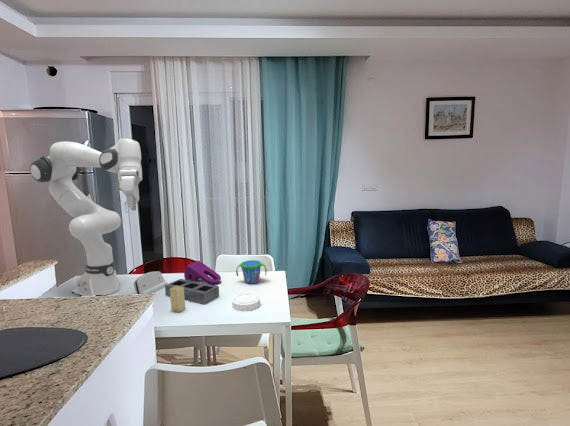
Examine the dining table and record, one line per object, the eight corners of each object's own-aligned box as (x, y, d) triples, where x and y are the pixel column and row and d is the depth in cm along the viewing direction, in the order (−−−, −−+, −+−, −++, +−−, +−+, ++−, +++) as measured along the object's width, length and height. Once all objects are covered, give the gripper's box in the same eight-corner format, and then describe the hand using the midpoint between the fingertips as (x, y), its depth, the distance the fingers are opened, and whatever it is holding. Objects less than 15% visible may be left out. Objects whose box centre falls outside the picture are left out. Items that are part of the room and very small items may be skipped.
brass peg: (171, 311, 146) (169, 288, 145) (178, 307, 150) (176, 285, 148) (178, 313, 144) (176, 290, 143) (185, 309, 148) (183, 286, 146)
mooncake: (231, 312, 144) (230, 304, 144) (233, 300, 156) (233, 293, 156) (260, 311, 145) (259, 302, 145) (260, 299, 157) (259, 292, 156)
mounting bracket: (219, 291, 184) (194, 273, 190) (224, 278, 181) (199, 260, 187) (208, 297, 175) (182, 278, 181) (213, 284, 172) (187, 265, 178)
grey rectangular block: (165, 295, 164) (164, 285, 163) (181, 288, 172) (180, 278, 171) (204, 304, 152) (204, 293, 151) (219, 296, 161) (218, 286, 160)
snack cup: (234, 285, 175) (233, 265, 174) (239, 278, 185) (238, 259, 184) (265, 285, 173) (264, 266, 172) (268, 278, 184) (267, 260, 182)
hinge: (144, 297, 161) (137, 277, 161) (137, 299, 163) (130, 279, 163) (168, 285, 176) (162, 267, 176) (162, 287, 178) (155, 269, 178)
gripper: (126, 182, 154) (127, 212, 152) (118, 170, 134) (119, 205, 132) (141, 181, 155) (143, 212, 154) (135, 169, 136) (137, 204, 134)
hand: (132, 208), depth 143 cm, fingers open, 8 cm apart
